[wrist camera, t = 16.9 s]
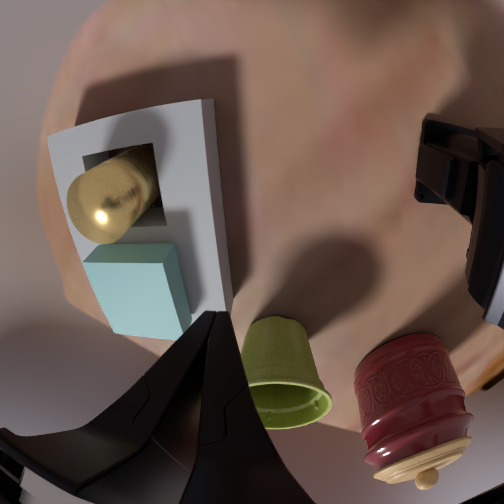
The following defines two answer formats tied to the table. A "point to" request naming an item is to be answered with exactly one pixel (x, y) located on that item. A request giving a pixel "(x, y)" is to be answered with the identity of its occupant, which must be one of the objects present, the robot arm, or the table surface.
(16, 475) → the robot arm
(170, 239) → the jig
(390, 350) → the canister
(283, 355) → the plant pot
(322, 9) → the table surface
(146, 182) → the brass cylinder
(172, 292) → the teal block
